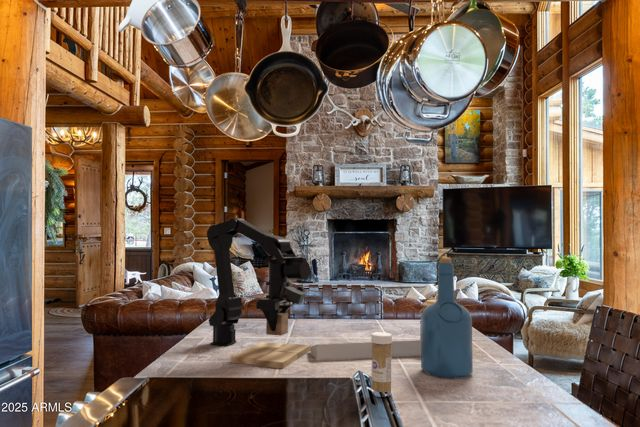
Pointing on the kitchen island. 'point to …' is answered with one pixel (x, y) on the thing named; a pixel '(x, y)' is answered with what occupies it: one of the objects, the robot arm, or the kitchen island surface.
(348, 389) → the kitchen island surface
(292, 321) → the kitchen island surface
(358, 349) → the decorative molding
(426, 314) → the wine bottle
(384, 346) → the sprinkles bottle
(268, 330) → the block
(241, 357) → the plank
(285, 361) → the laid row
